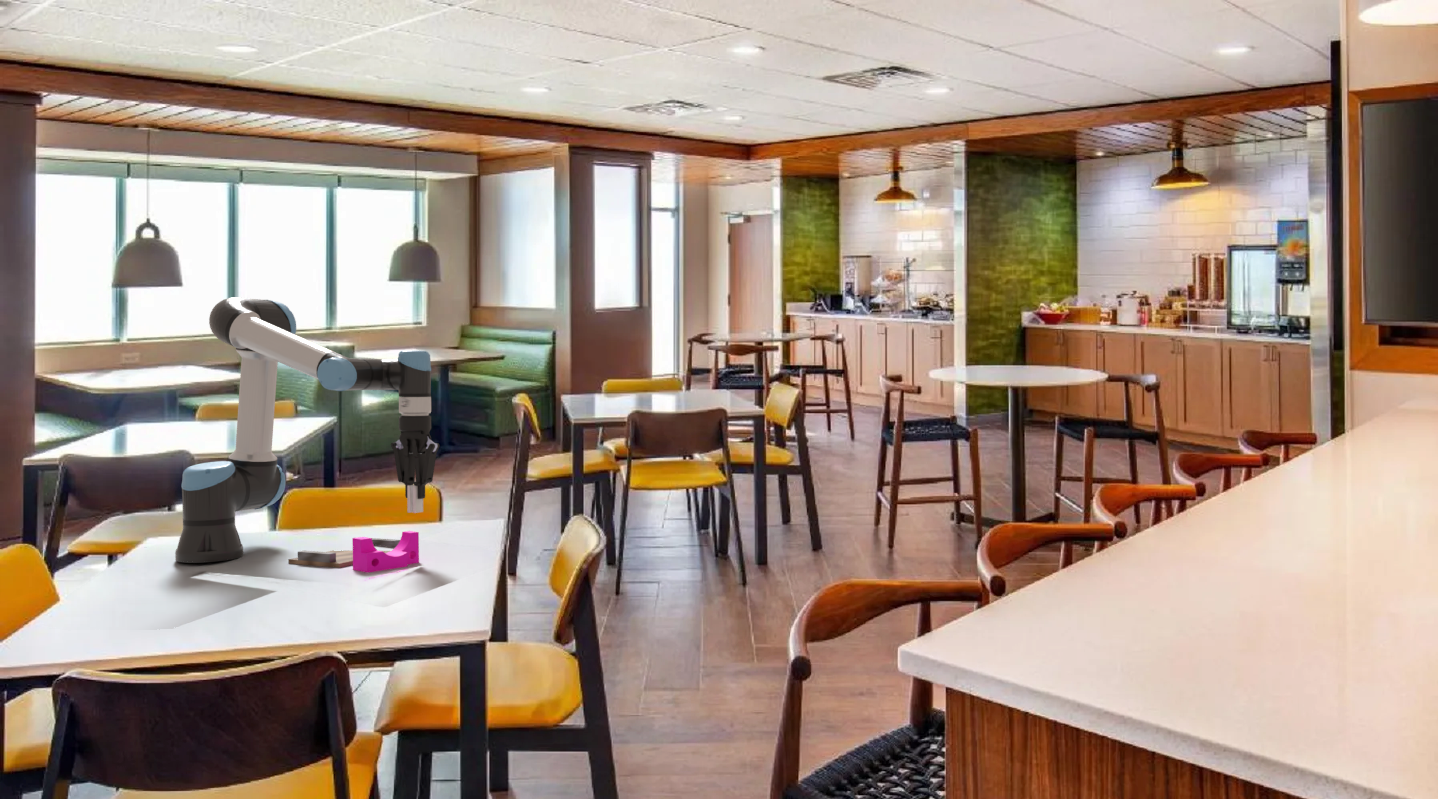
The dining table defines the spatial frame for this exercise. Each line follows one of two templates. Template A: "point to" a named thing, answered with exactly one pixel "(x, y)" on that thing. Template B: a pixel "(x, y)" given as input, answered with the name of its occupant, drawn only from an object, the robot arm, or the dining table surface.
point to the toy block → (374, 560)
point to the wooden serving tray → (335, 555)
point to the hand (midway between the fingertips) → (415, 511)
